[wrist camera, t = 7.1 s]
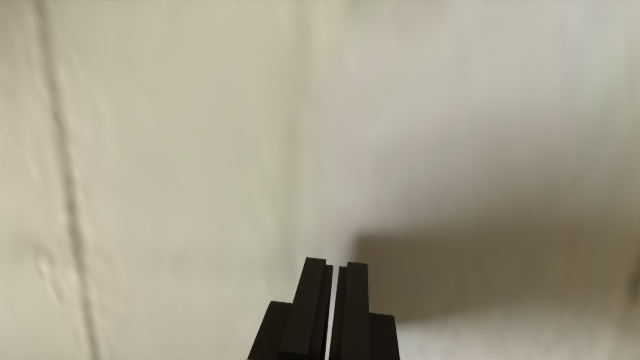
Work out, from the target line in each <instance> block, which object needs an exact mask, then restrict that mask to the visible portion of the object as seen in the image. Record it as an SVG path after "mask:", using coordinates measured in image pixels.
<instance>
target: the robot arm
mask: <svg viewBox="0 0 640 360" xmlns="http://www.w3.org/2000/svg"><path fill="white" fill-rule="evenodd" d="M332 275H333V265H326V259H318V258H309V257H306V260H305V264H304V267H303V270H302V274H301V277H300V280H299V284H298V287H297V290H296V294H295V297H294V300H293V303H285V302H277V301H271V302H270V304H269V306H268V308H267V311H266V313H265V316H264V318H263V321H262V323H261V326H260V328H259V331H258V333H257V336H256V338H255V341H254V343H253V346H252V348H251V351H250V353H249V356H248V358H247V360H325V352H326V341H327V330H328V319H329V308H330V297H331V286H332ZM329 360H400V356H399V348H398V340H397V333H396V325H395V318H394V316H393V315H385V314H377V313H369V299H368V264H363V263H354V262H348V264H347V267H342V266H339V275H338V283H337V292H336V300H335V309H334V318H333V326H332V335H331V343H330V352H329Z"/></svg>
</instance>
